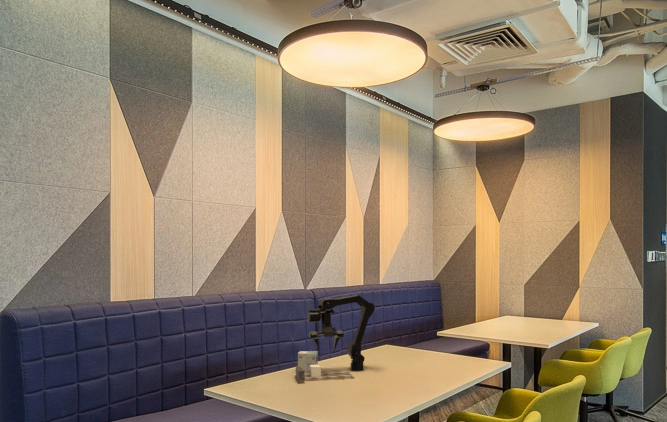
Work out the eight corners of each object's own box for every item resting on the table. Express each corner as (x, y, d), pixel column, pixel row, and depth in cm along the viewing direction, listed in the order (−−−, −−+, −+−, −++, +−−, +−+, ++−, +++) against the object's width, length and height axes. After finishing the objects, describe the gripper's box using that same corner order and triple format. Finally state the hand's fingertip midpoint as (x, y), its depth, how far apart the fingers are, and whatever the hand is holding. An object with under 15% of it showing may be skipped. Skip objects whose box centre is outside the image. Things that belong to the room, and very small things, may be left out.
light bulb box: (318, 370, 295) (318, 350, 295) (316, 372, 288) (316, 353, 289) (299, 369, 296) (299, 350, 296) (297, 372, 289) (297, 353, 290)
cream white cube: (318, 375, 277) (318, 364, 277) (320, 378, 271) (320, 366, 271) (309, 376, 276) (309, 364, 276) (311, 379, 270) (311, 367, 271)
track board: (349, 374, 284) (348, 363, 285) (355, 380, 270) (354, 368, 271) (294, 377, 278) (294, 365, 279) (298, 383, 265) (298, 371, 265)
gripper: (311, 324, 277) (311, 353, 276) (345, 322, 281) (346, 352, 280) (308, 321, 288) (308, 349, 287) (341, 320, 292) (341, 348, 291)
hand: (326, 350), depth 286 cm, fingers open, 9 cm apart
